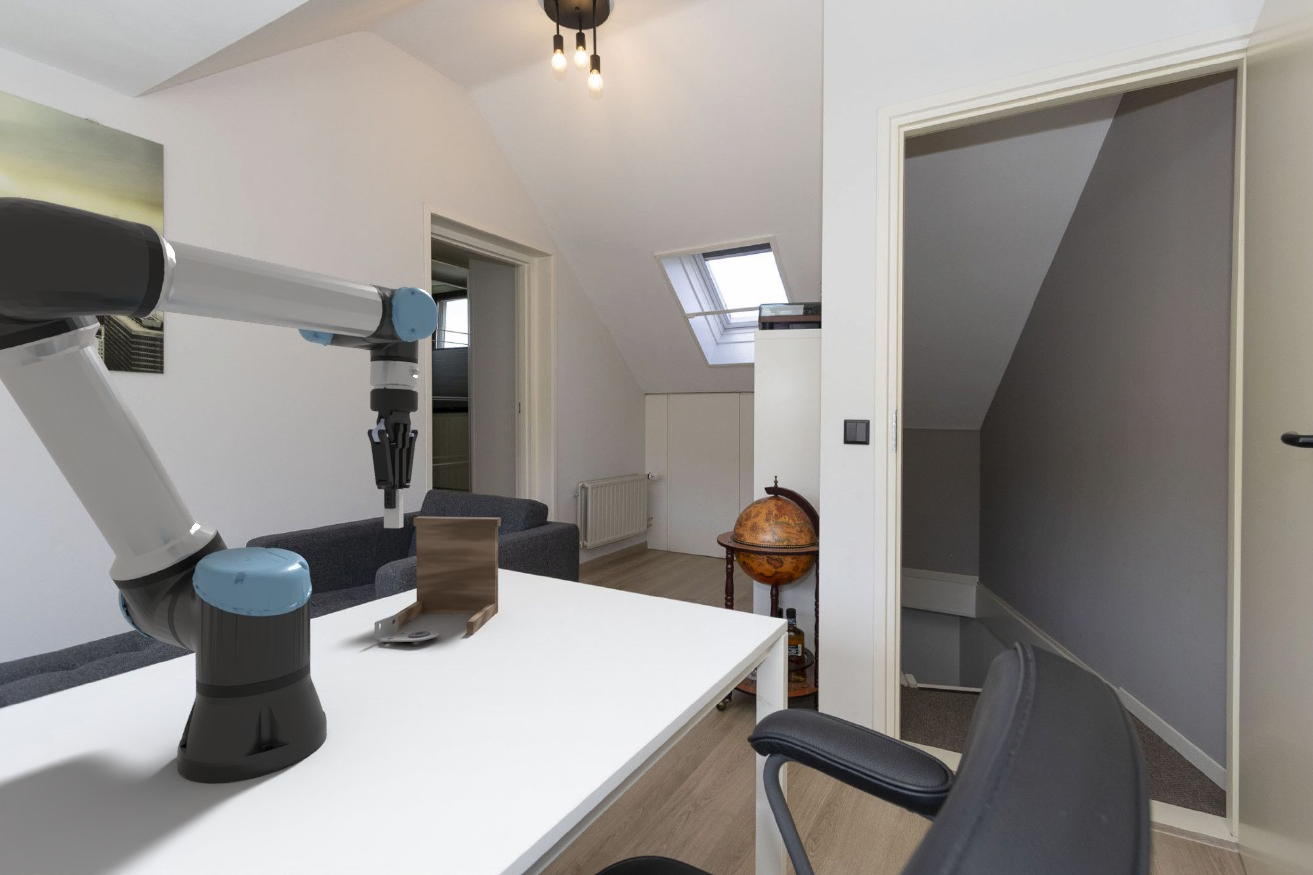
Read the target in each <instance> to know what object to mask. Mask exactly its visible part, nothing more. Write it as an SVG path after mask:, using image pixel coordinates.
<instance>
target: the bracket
mask: <svg viewBox="0 0 1313 875" xmlns="http://www.w3.org/2000/svg"><path fill="white" fill-rule="evenodd" d="M394 619H395V623H394V624H392V621H393V620H394ZM439 635H440V634H439V632H438V631H432V630H431V631H429V630H428V631H427V630H424V631H422V630H421V631H416V630H415V631H400V632H399V629H398V615H395V614H393V615H391V616H388V617H385V618H383V619H378V620H376V621H375V622H374V640H376V641H377V640H378V641H379V642H380V643H394V642H395V643H403V642H405V643H406V642H407V643H408V642H413V643H414V642H415V643H417V642H423V641H426V640H427V641H428V640H430V639H435V638H436V637H438V636H439Z"/></svg>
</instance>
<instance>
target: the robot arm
mask: <svg viewBox="0 0 1313 875" xmlns="http://www.w3.org/2000/svg"><path fill="white" fill-rule="evenodd" d="M157 312H163V313H164V312H166V313H172V314H181V315H188V316H196V317H204V318H212V319H221V320H229V321H235V322H244V323H250V324H259V325H267V326H275V327H282V328H290V329H297V330H298V332H299V334H300V336H301V337H302V338H303V339H304V340H305V341H307V342H309V343H314V344H320V345H323V346H324V347H327V346H332V347H333V346H334V347H343V348H351V349H358V350H364V351H369V353H370V354H369V355H370V358H369V362H370V371H369V372H370V374H369V375H370V377H369V378H370V379H369V385H370V386H371V387H373V389H371V390H370V392H369V394H370V395H369V397H370V399H369V401H370V402H369V403H370V404H369V408H370V410H371V411H372V412H377V413H378V414H377V419H376V426H375V427H374V428H369V429H368V430H367V437H368V440H369V443H370V448H371V455H372V463H373V470H374V471H373V472H374V478H375V479H374V480H375V485H376V487H377V489H378V490H383V528H384V529H401V528H402V529H403V528H404V503H405V502H404V497H405V495H404V492H405V491H404V490H405V489H410V487H411V482H412V474H413V464H414V458H415V448H416V442H417V439H418V437H419V436H418V435H419V430H418V429H412V427H411V425H412V419H411V416H410V414H411V413H415V412H417V411H418V409H419V392H418V390H415V388H417V387H418V385H419V384H418V383H419V374H420V372H421V371H420V369H419V340H425V339H427V338H429V337H430V336H431V335H433V334H434V332H435V331H436V329H437V327H438V322H439V320H438V318H439V315H438V314H439V312H438V307H437V304H436V302H435V300H434V299H433V297H432V295H431V294H429V293H428V292H427V291H426V290H424V289H422V288H420V287H416V286H415V287H406V286H402V287H398V288H390V287H386V286H380V285H375V284H371V283H370V284H368V283H366V282H362V281H358V280H357V281H356V280H352V279H348V278H344V277H338V276H333V275H328V274H324V273H320V272H316V271H313V270H312V271H310V270H306V269H303V268H297V267H292V266H287V265H284V264H279V263H274V262H270V261H266V260H261V259H256V258H252V257H247V256H242V255H238V254H233V253H230V252H225V251H221V250H215V249H212V248H211V249H210V248H207V247H202V246H197V245H192V244H188V243H184V242H180V241H175V240H170V239H165V238H164V237H163V236H162V235H161V233H160V232H159V231H158V230H157V229H156V228H155V227H153V226H151V225H147V224H143V223H140V222H135V221H129V220H125V219H122V218H117V217H114V216H110V215H105V214H102V213H98V212H93V211H89V210H86V209H81V208H77V207H72V206H69V205H63V204H59V203H54V202H50V201H45V200H39V199H31V198H28V197H27V198H26V197H18V196H17V197H16V196H14V197H12V196H0V381H1V382H2V384H3V385H4V387H5V388H6V390H7V391H8V393H9V395H10V396H11V398H12V399H13V400H14V402H15V404H16V405H17V406H18V409H19V410H20V411H21V413H22V414H23V416H24V417H25V418H26V420H27V422H28V423H29V425H30V427H31V428H32V429H33V431H34V433H35V434H36V436H37V437H38V438H39V440H40V442H41V443H42V445H43V446H44V448H45V449H46V451H47V453H48V454H49V456H50V457H51V458H52V460H53V462H54V464H56V466H57V468H58V469H59V471H60V472H61V473H62V475H63V477H64V478H65V481H67V483H68V485H69V486H70V487H71V490H72V491H73V492H74V494H75V495H76V497H77V498H78V500H79V502H80V503H81V504H82V506H83V507H84V509H85V510H86V512H87V513H88V515H89V516H90V518H91V519H92V521H93V522H94V524H95V525H96V527H97V528H98V530H99V532H100V533H101V535H102V536H103V538H104V539H105V541H106V543H107V544H108V546H109V547H110V549H111V550H112V552H113V553H114V554H115V559H114V560H113V563H112V565H111V567H110V569H109V570H108V571H109V573H108V574H109V576H110V578H111V580H112V581H113V583H114V584H115V585H116V587H117V589H118V605H119V610H120V612H121V614H122V616H123V618H124V619H125V621H126V622H127V623H128V624H129V625H130V626H131V627H132V628H133V629H134V630H135V631H136V632H138V633H139V634H140V635H142V636H144V637H146V638H149V639H150V640H154V641H155V642H160V643H164V644H168V645H172V646H176V647H179V648H181V649H185V650H188V651H191V652H194V654H195V656H194V657H195V696H194V701H193V704H192V706H191V710H190V712H189V715H188V718H187V720H186V724H185V726H184V729H183V732H182V736H181V739H180V740H179V743H178V746H177V751H176V753H177V755H176V756H177V758H176V759H177V763H176V764H177V769H176V770H177V772H178V774H179V775H180V776H181V777H182V778H184V779H186V780H188V781H192V782H194V783H195V782H196V783H202V784H203V783H204V784H225V783H226V784H227V783H236V782H240V781H241V782H242V781H247V780H251V779H256V778H260V777H264V776H267V775H270V774H275V773H276V772H279V771H282V770H284V769H285V770H286V769H287V768H289V767H291V766H294V765H296V764H298V763H300V762H302V761H304V760H305V759H307V758H309V757H310V756H312V755H313V754H314V753H316V752H317V751H318V750H319V749H320V748H322V746H323V745H324V743H325V742H326V740H327V736H328V734H327V732H328V728H327V725H328V724H327V723H328V722H327V714H326V712H325V711H324V710H323V706H322V703H321V700H320V697H319V695H318V693H317V692H318V691H317V689H316V687H315V685H314V682H313V679H312V676H311V672H312V671H311V595H312V592H313V587H312V581H311V576H310V575H311V574H310V573H311V572H310V567H309V564H308V562H307V560H306V559H305V558H304V557H303V556H302V555H301V554H298V553H297V552H295V551H291V550H288V549H284V548H278V547H277V548H276V547H271V548H268V547H267V548H265V547H263V546H262V547H261V546H248V547H247V546H246V547H236V548H228V546H227V544H226V543H225V541H224V539H223V537H222V536H221V534H220V532H219V531H218V528H217V527H216V526H215V524H212V523H209V522H204V521H199V520H196V519H195V518H194V516H193V514H192V512H191V511H190V509H189V507H188V505H187V504H186V502H185V500H184V498H183V497H182V495H181V493H180V491H179V489H178V488H177V486H176V485H175V483H174V481H173V479H172V478H171V476H170V474H169V472H168V471H167V469H166V468H165V465H164V463H163V462H162V461H161V459H160V457H159V455H158V454H157V452H156V451H155V449H154V447H153V444H151V442H150V440H149V438H148V437H147V434H146V432H144V429H143V427H142V425H141V424H140V423H139V421H138V419H137V417H136V416H135V414H134V413H133V411H132V409H131V406H129V404H128V402H127V400H126V398H125V397H124V395H123V394H122V392H121V390H120V389H119V387H118V385H117V383H116V382H115V379H114V378H113V376H112V374H111V373H110V370H109V369H108V368H107V365H106V364H105V362H104V361H103V358H101V356H100V354H99V352H98V350H97V348H96V347H95V345H94V338H95V337H96V334H97V333H98V331H99V329H100V326H101V323H100V321H99V319H98V318H97V316H120V317H127V318H129V317H130V318H136V319H137V318H138V319H147V318H150V317H152V316H153V315H155V314H156V313H157Z"/></svg>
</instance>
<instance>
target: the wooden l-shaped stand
mask: <svg viewBox="0 0 1313 875" xmlns="http://www.w3.org/2000/svg"><path fill="white" fill-rule="evenodd" d="M501 523H502V517H485V516H482V517H479V516H478V517H477V516H419V515H418V516H416V517H413V527H415V528H416V533H415V534H416V538H415V539H416V541H415V542H416V543H415V544H416V547H415V548H416V601H414V602H413V603H411V604H409V605H408V606H406V607H405V608H404V609H402V610H400V611H398V612H397V613H395V614H394V615H398V630H400V629H401V628H403V627H405V626H406V625H407V624H409V623H410V622H412V621H413V620H415V619H416V618H417V617H420V615H422V614H426V615H427V614H428V615H429V614H430V615H470V616H471V615H473V616H472V617H470V618H469V620H467V621H466V635H472V636H473V635H475V634H476V633H477V632H479V630H480V629H481V628H482V627H483V626H485V624H487V622H489V621H490V620H491V619H492V618H493V617H494V616H495V614H496V615H497V614H498V613H499V528H500V527H501V525H502V524H501ZM394 623H395V619H394V620H393V621H392V624H394Z"/></svg>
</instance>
